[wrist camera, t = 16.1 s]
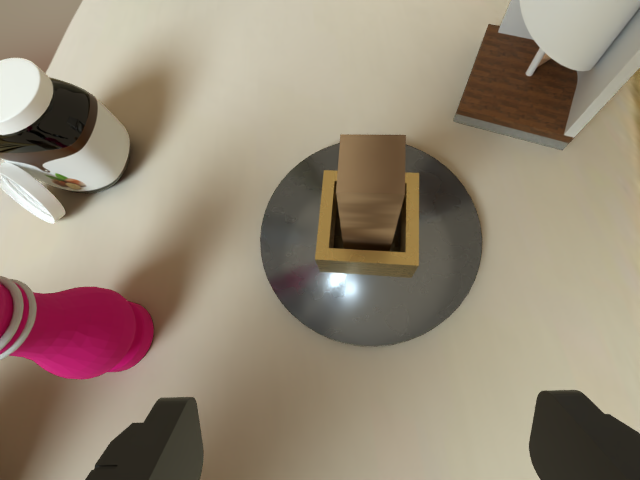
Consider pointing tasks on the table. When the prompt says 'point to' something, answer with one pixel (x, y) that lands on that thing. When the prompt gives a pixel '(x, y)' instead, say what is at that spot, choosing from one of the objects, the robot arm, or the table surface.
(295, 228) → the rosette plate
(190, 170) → the table surface
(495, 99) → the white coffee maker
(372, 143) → the tall tan wooden block
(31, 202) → the spread jar
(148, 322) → the pepper mill
